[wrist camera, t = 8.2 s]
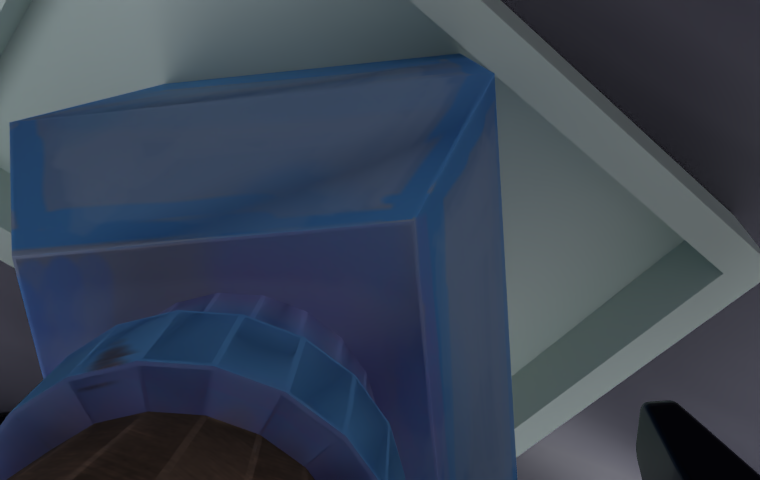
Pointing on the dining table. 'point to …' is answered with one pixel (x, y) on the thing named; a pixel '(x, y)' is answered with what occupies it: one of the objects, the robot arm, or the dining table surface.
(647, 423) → the robot arm
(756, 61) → the dining table surface
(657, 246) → the tray
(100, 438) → the perfume bottle
